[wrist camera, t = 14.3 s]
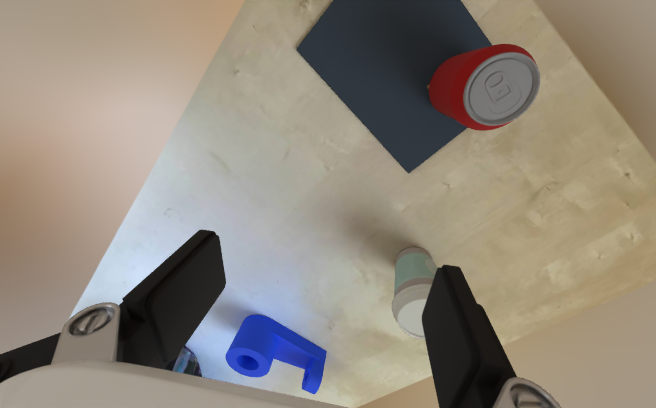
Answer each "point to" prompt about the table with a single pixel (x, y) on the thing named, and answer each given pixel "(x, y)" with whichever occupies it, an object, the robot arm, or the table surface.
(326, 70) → the mat
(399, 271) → the coffee cup
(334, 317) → the table surface
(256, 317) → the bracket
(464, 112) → the beverage can
